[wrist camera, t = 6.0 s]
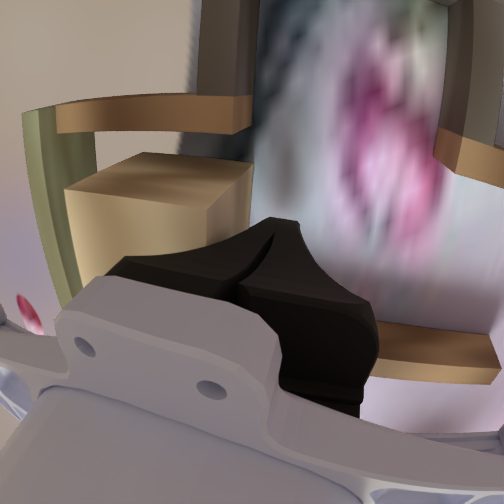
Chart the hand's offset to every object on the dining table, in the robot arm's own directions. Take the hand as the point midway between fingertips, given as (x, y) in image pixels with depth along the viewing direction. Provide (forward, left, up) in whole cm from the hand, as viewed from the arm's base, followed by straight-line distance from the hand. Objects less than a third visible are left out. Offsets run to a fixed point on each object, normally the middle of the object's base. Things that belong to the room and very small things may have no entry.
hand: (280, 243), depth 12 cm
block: (+2, -4, -1) cm, 4 cm away
